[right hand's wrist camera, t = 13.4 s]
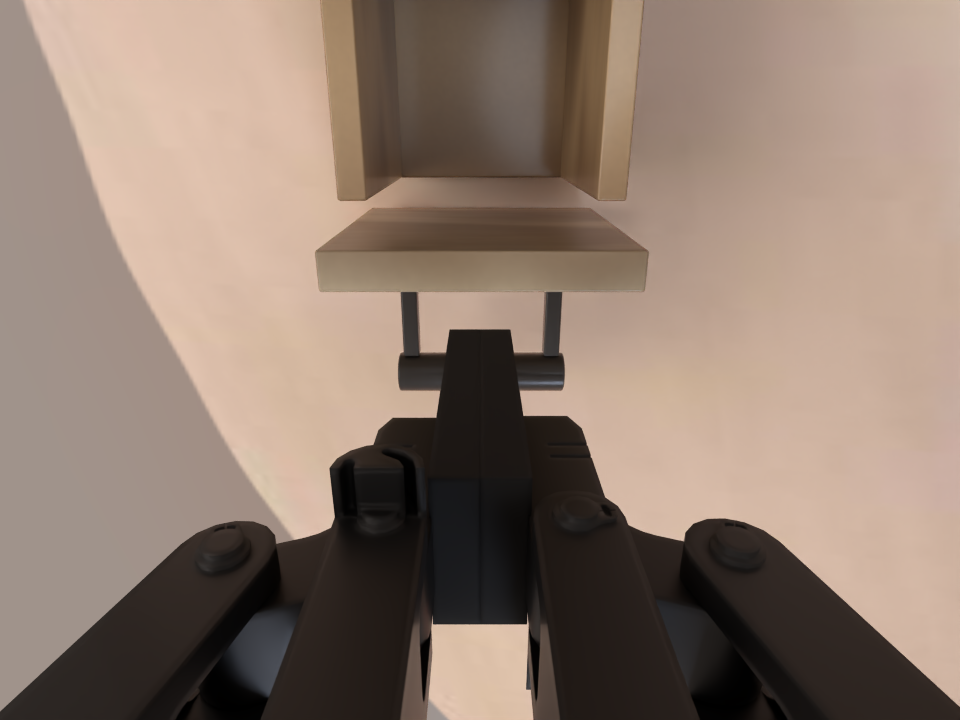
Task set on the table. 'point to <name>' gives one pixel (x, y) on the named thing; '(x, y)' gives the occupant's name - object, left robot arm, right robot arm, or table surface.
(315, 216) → the table surface
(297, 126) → the table surface
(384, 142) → the drawer
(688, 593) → the right robot arm
